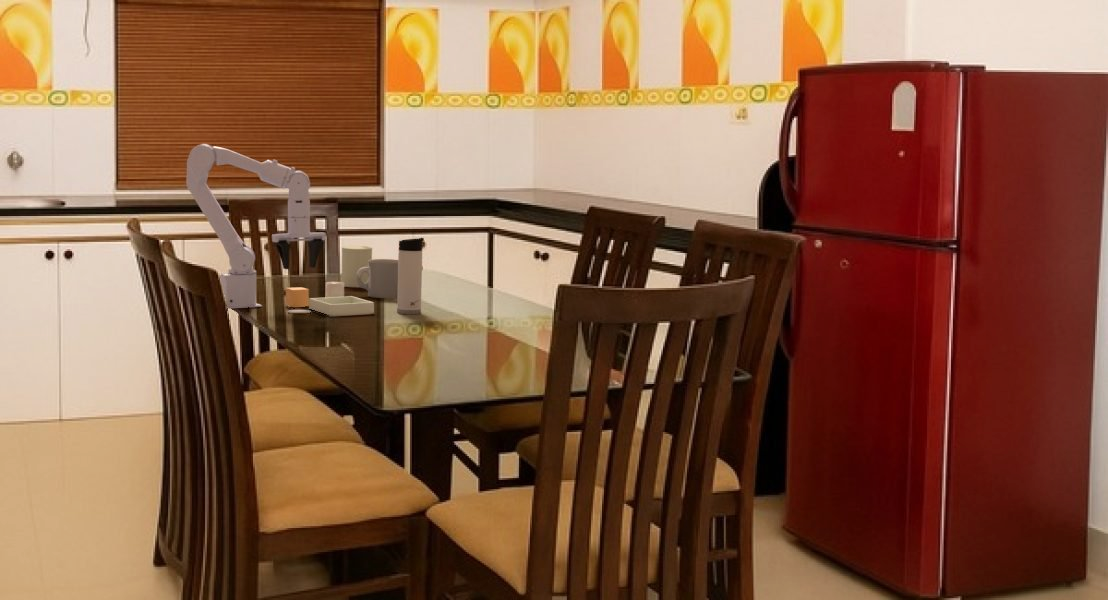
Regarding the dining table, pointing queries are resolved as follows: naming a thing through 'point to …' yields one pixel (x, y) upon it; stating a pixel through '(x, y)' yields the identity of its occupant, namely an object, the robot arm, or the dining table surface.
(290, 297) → the block
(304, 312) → the grey flat disc
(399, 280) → the travel mug
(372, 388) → the dining table surface
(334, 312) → the tray
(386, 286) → the coffee mug
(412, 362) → the dining table surface
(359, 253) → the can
